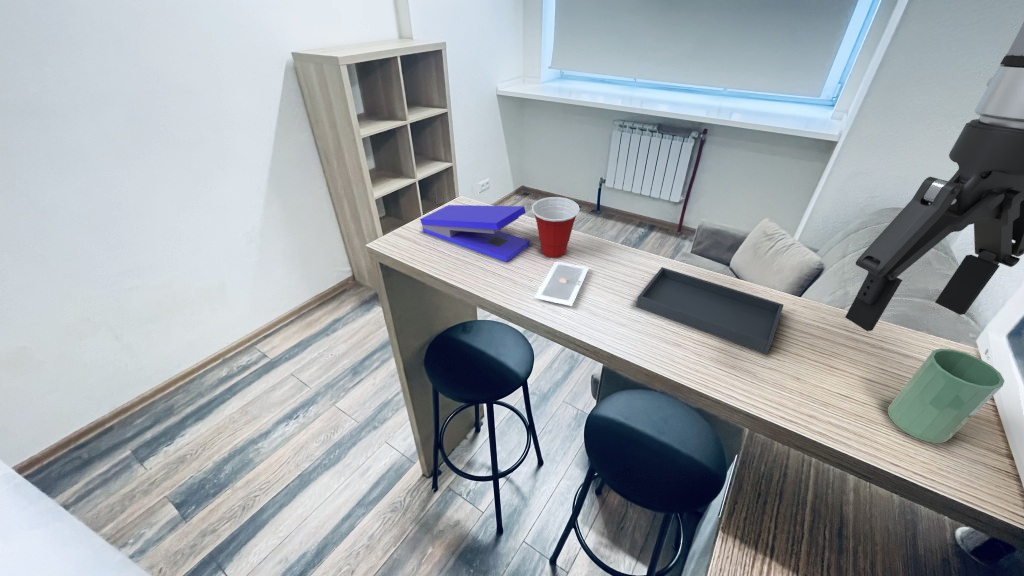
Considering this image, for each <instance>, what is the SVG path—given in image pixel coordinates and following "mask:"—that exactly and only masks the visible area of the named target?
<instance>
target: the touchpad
mask: <svg viewBox="0 0 1024 576" xmlns="http://www.w3.org/2000/svg"><path fill="white" fill-rule="evenodd" d="M589 270H590V267H588V266H583V265H578V264H577V265H576V264H573V263H567V262H562V261H558V260H557V261H554V263H553V265H552V266H551V268H550V270H549V271H548V273H547V274H546V276H545V278H544V280H542V283H541V285H540V286H539V288H538V290H537V291H536V293H535V295H534V296H533V298H534V299H537V300H541V301H546V302H551V303H556V304H560V305H565V306H568V307H573V304H574V302H575V300H576V297H577V296H578V294H579V292H580V290H581V287H582V285H583V282H584V280H585V278H586V276H587V273H588V272H589Z"/></svg>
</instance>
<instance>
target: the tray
mask: <svg viewBox="0 0 1024 576" xmlns="http://www.w3.org/2000/svg"><path fill="white" fill-rule="evenodd" d="M635 307H636V308H638V309H641V310H644V311H647V312H650V313H652V314H655V315H657V316H660V317H663V318H666V319H669V320H671V321H674V322H676V323H680V324H682V325H685V326H687V327H689V328H693V329H695V330H699V331H701V332H704V333H706V334H710V335H712V336H715V337H718V338H720V339H723V340H725V341H728V342H731V343H734V344H736V345H739V346H742V347H744V348H747V349H750V350H752V351H756V352H759V353H761V354H764V355H768V352H769V350H770V348H771V346H772V344H773V341H774V338H775V335H776V330H777V327H778V325H779V321H780V318H781V314H782V312H783V308H784V304H783V303H780V302H777V301H773V300H771V299H767V298H764V297H761V296H757V295H755V294H750V293H749V292H748V293H747V292H744V291H742V290H738V289H735V288H732V287H729V286H725V285H722V284H718V283H715V282H711V281H708V280H705V279H702V278H699V277H695V276H693V275H689V274H686V273H682V272H679V271H676V270H673V269H669V268H666V267H664V266H662V267H660V269H659V270H658V271H657V272H656V274H655V275H654V276H653V277H652V279H651V280H650V281H649V282H648V283H647V285H646V286H645V287H644V289H643V290H642V291H641V292H640V293H639V295H637V300H636V306H635Z"/></svg>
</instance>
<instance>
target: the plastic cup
mask: <svg viewBox="0 0 1024 576" xmlns="http://www.w3.org/2000/svg"><path fill="white" fill-rule="evenodd" d="M531 210H532V211H531V212H532V214H533V215H534V218H535V222H536V226H537V232H538V239H539V242H540V243H539V244H540V250H541V253H542V255H543V256H544V257H547V258H552V259H557V258H561V257H563V256H564V255H566V252H567V250H568V245H569V241H570V239H571V235H572V230H573V227H574V223H575V221H576V218H577V216H578V215H579V212H580V211H581V210H580V206H579V204H578V203H577V202H575V200H573V199H570V198H567V197H559V196H550V197H544V198H540V199H539V200H537V201H534V203H533V204H532V206H531Z"/></svg>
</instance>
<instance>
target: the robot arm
mask: <svg viewBox="0 0 1024 576" xmlns="http://www.w3.org/2000/svg"><path fill="white" fill-rule="evenodd" d="M973 111H974V113H975V114H976V115H978V116H979V118H975V119H971V120H970V121H969V122H966V123H965V124H964V126H963V128H962V130H961V132H960V133H959V135H958V137H957V139H956V141H955V142H954V144H953V145H952V148H951V150H950V151H949V154H948V157H949V160H950V161H952V162H953V163H956V164H957V166H958V170H957V171H955V173H954V174H953V176H951V178H950V179H948V180H945V179H942V178H941V179H940V178H937V177H934V176H928V177H926V178H925V179H924V180H923V181H922V183H921V185H920V186H919V187H918V189H917V191H916V192H915V194H914V195H913V197H912V199H910V201H909V202H908V203H907V204H906V205H905V206H904V208H903V209H901V211H900V212H899V213H898V214H897V215H896V216H895V218H893V219H892V221H891V222H890V223H889V224H888V225H887V226H886V227H885V228H884V229H883V230H882V232H881V233H880V234H879V235H878V236H877V237H876V238H875V239H874V240H873V241H872V242H871V244H870V245H869V246H868V247H867V248H866V249H865V250H864V251H863V253H861V255H860V256H859V257H858V258H857V259H856V261H855V265H856V266H857V267H859V268H861V269H862V270H865V271H867V275H866V277H865V279H864V281H863V282H862V284H861V286H860V288H859V290H858V292H857V293H856V294H857V295H856V296H855V298H854V300H853V302H852V303H851V305H850V307H849V309H848V310H847V313H846V315H845V316H844V318H845V319H847V320H849V321H850V322H852V323H853V324H854V325H856V326H858V327H859V328H861V329H862V330H864V331H866V332H870V331H871V332H873V330H874V329H875V327H876V325H877V324H878V322H879V320H880V318H881V317H882V315H883V314H884V312H885V311H886V308H887V307H888V305H889V304H890V301H891V300H892V299H893V297H894V295H895V293H896V292H897V291H898V288H899V287H900V285H901V283H902V282H903V279H901V278H899V276H901V275H902V274H903V273H904V272H905V271H906V270H907V269H909V268H910V267H911V266H912V265H914V264H915V263H916V262H918V261H919V260H920V259H921V258H922V257H923V256H925V255H926V254H927V253H928V252H930V251H931V250H932V249H934V248H935V246H937V245H938V244H939V243H941V242H942V241H943V240H944V239H945V238H946V237H948V236H949V235H950V234H952V233H957V232H962V231H963V230H964V229H966V228H967V227H968V226H970V225H973V239H974V240H973V241H974V254H975V255H973V254H966V255H965V256H964V258H963V259H962V260H961V262H960V264H959V265H958V267H957V269H955V271H954V273H953V274H952V275H951V277H950V279H949V280H948V282H947V283H946V285H945V286H944V288H943V289H942V291H941V292H940V294H939V295H938V297H937V298H936V299H935V301H934V303H935V304H937V305H939V306H941V307H943V308H945V309H947V310H949V311H951V312H953V313H955V314H957V315H959V316H962V315H965V314H966V313H967V312H968V310H969V309H970V307H972V305H973V304H974V302H975V301H976V299H978V297H979V295H980V294H981V293H982V292H983V290H984V288H985V287H986V286H987V284H988V283H989V282H990V280H991V279H992V278H993V276H994V274H995V273H996V272H997V270H998V269H999V268H1000V266H1001V265H1004V266H1006V267H1009V268H1012V267H1015V266H1016V265H1017V264H1018V263H1019V262H1020V260H1021V258H1020V257H1021V256H1023V255H1024V22H1023V23H1022V25H1021V26H1020V29H1019V31H1018V33H1017V34H1016V36H1015V38H1014V39H1013V42H1012V43H1011V46H1010V47H1009V49H1008V51H1007V53H1006V54H1005V56H1004V57H1003V58H1002V60H1001V62H1000V64H999V66H998V68H997V70H996V71H995V73H994V74H993V76H991V77H990V78H989V79H988V80H987V82H986V89H985V90H984V92H983V94H982V96H981V97H980V99H979V101H978V103H977V105H976V107H975V108H974V110H973ZM1013 241H1014V242H1013ZM976 255H977V256H976ZM999 264H1001V265H999Z"/></svg>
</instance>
